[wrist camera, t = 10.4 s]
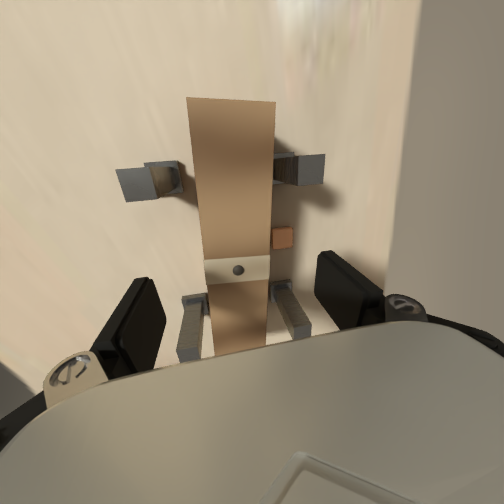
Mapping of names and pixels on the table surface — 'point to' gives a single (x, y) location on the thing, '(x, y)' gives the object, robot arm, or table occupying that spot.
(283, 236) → the brown flat block
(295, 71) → the table surface
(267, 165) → the tan plank with band
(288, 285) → the pair of grey posts
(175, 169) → the gray u-shaped bracket
